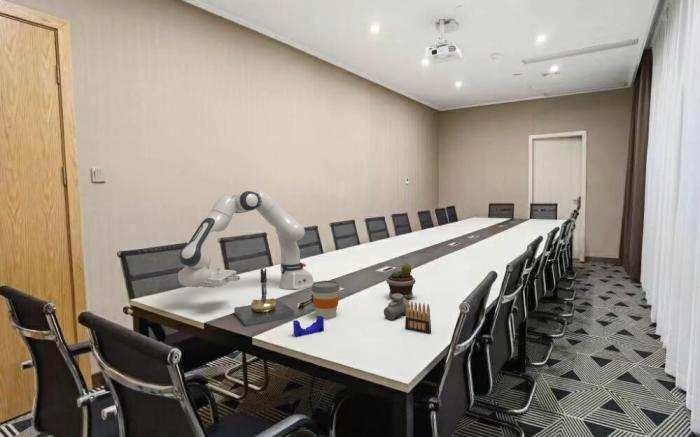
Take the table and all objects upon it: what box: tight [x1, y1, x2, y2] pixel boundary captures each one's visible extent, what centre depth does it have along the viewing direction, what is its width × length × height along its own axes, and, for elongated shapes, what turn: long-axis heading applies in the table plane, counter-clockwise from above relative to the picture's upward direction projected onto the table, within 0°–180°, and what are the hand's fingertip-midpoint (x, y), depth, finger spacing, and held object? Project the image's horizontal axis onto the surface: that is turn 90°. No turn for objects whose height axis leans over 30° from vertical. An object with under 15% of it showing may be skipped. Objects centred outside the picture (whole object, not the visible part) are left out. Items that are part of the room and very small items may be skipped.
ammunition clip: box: [404, 300, 432, 335], centre depth 158 cm, size 11×2×12 cm, turn 56°
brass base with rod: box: [250, 267, 277, 312], centre depth 183 cm, size 17×11×17 cm, turn 10°
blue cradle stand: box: [292, 315, 325, 338], centre depth 159 cm, size 12×4×6 cm, turn 120°
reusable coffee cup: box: [311, 280, 340, 320], centre depth 179 cm, size 13×12×15 cm
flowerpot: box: [385, 262, 416, 301], centre depth 205 cm, size 14×15×20 cm
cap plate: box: [233, 300, 295, 327], centre depth 181 cm, size 22×20×3 cm
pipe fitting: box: [383, 293, 411, 320], centre depth 176 cm, size 12×8×10 cm
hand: (238, 278), depth 191 cm, fingers closed
